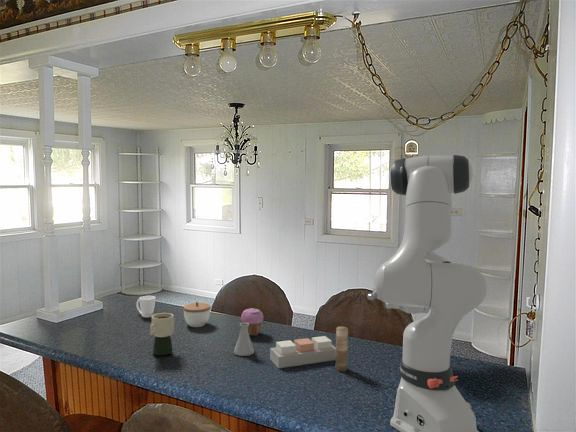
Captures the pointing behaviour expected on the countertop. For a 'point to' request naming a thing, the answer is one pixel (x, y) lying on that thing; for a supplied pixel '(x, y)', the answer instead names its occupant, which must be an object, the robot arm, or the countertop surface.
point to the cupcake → (252, 320)
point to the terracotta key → (304, 345)
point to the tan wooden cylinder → (341, 348)
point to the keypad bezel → (302, 357)
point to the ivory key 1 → (285, 347)
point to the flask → (244, 342)
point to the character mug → (162, 332)
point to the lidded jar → (196, 314)
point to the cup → (146, 305)
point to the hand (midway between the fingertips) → (377, 301)
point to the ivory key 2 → (322, 343)
